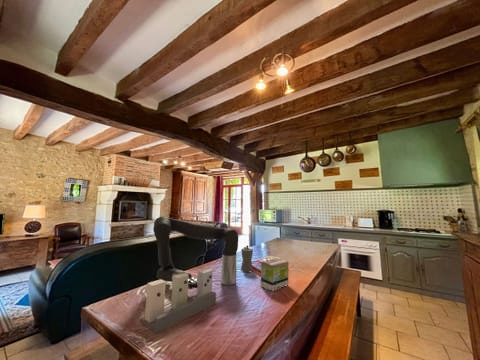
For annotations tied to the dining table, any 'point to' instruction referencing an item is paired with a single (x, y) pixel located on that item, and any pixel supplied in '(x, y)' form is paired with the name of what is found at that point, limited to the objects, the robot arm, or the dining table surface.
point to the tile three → (204, 282)
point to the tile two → (179, 290)
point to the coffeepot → (247, 259)
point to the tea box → (274, 274)
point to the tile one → (155, 299)
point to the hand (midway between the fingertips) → (201, 287)
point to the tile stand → (180, 312)
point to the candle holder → (271, 257)
